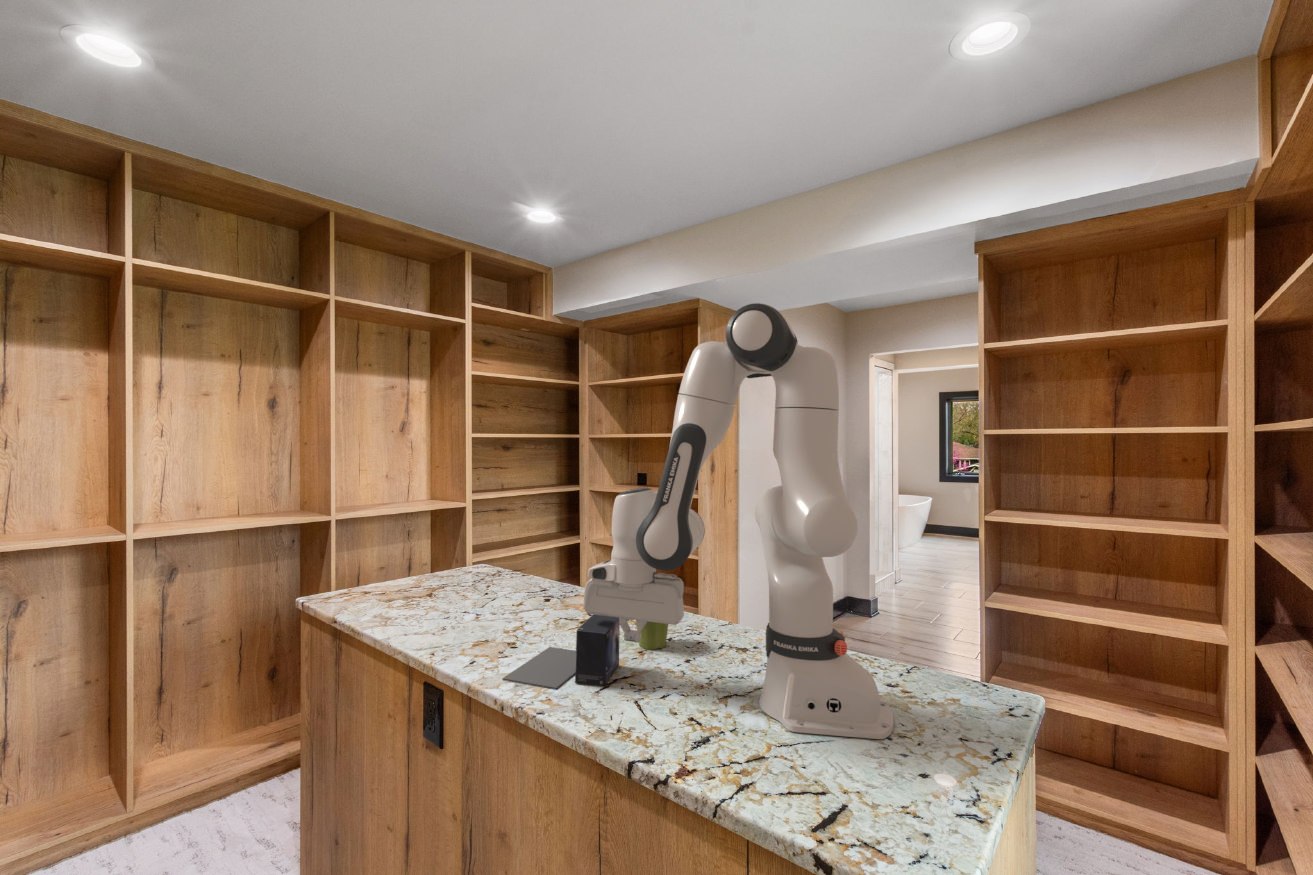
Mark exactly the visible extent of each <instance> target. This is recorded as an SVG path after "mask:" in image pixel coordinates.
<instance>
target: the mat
mask: <svg viewBox="0 0 1313 875" xmlns="http://www.w3.org/2000/svg"><path fill="white" fill-rule="evenodd" d="M575 674H576V650H572V649H566V648H561V647H560V648H559V647H553V646H549V647H547V648H545V649H544V650H543V651H541V652H540V653H538V654H537V655H535V656H534V657H532V658H530V659H529V660H528V661H526V662H525V663H523V664H521V665H520V666H519V667H517V668H516V669H514V670H513V671H511V672H509V673H508V674H507V675H505V676H503V677H502V679H501V680H503V681H507V682H511V681H512V682H511V683H517V684H518V683H519V684H524V685H528V686H529V685H530V686H534V687H541V688H546V689H553V690H558V689H559V688H561V686H563V684H565V683H566V682H567V681H569V679H572V677H573V676H574V675H575Z"/></svg>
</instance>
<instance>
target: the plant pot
mask: <svg viewBox="0 0 1313 875" xmlns="http://www.w3.org/2000/svg"><path fill="white" fill-rule="evenodd" d="M638 627H639V625H636V630H637V629H638ZM668 630H669V624H664V623H656V622H648V621H647V623H646V625H645V627H644V628H643V630H642V631H641V640H640V642H638V644H639V646H640V647H641V648H642V649H645V650H652V651H653V650H657V649H659V648H660V649H663V648H665V647H666V645H667V638H668Z"/></svg>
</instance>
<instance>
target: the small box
mask: <svg viewBox="0 0 1313 875" xmlns="http://www.w3.org/2000/svg"><path fill="white" fill-rule="evenodd" d="M620 627H621V626H620V624H619V618H617V617H609V616H602V615H594V614H591V616H590V617H589V618H588V619H587V620H586V621H585V622H584V623H583V624H581V625H580V626H579V627H578V628H577V629H576V636H575V637H576V640H575V642H576V643H575V651H576V674H574V675H575V678H574V683H575V684H581V685H589V686H598V687H605V686H606V684H608V682H609V681H610V679H611V678H612V677H613V675H614V673H616V671H617V669H618V668H619V667H620V636H621V635H620V630H621V628H620Z"/></svg>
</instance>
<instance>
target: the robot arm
mask: <svg viewBox="0 0 1313 875" xmlns="http://www.w3.org/2000/svg"><path fill="white" fill-rule="evenodd" d="M725 329H726V330H725V340H726V341H717V340H716V341H714V340H713V341H711V340H710V341H705V342H702V343H700V344H698V345H697V346H695V348H694V349H693V350H692V352H691V355H690V357H689V359H688V362H687V364H686V366H685V370H684V373H683V375H682V379H681V382H680V386H679V390H678V394H677V398H676V399H677V400H676V405H675V410H674V416H673V425H672V431H671V435H670V436H671V437H670V442H669V449H668V452H667V454H666V459H665V463H664V467H663V470H662V474H661V477H660V481H659V485H658V489H657V492H656V491H655V490H654V489H652V488H649V487H639V488H635V489H629V490H625V491H622V492H620V493H619V494H617V495H616V497H615V498H614V503H613V508H612V515H611V516H612V517H611V538H612V541H613V545H612V546H613V547H612V549H611V555H610V556H611V558H610V559H609V560H605V561H603V562H600V563H597V564H594V565H593V566H590V568H588V570H587V578H589V580H587V581H586V583H585V586H584V592H583V609H584V610H585V613H586V614H588V615H601V616H609V617H617V618H619V624H620V627H621V628H620V629H621V630H622V631H623V635H624V636H623V637H624V638H623V639H624V641H625V642H633V643H639V642H640V640H641V631H642V630H643V628H644V627H645V625H646V623H647V621H648V622H656V623H664V624H668V625H672V626H673V625H674V626H675V625H677V624H679V622H681V621H682V620H683V618H684V616H685V611H684V610H685V609H684V599H683V596H684V592H685V584H684V581H683V580H682V578H680V577H678V576H677V574H672V573H670V574H669V573H663V572H657V570H658V571H664V572H665V571H666V572H667V571H669V572H670V571H674V570H676V569H678V568H680V567H681V566H682V565H683V564H685V563H686V562H687V560H688V558H689V557H690V556H691V555H692V554H693V553H694V552H695V550H697V549H698V547H699V546H701V544H702V542H703V540H704V536H705V524H704V521H703V519H702V517H701V515H700V514H699V513H698V512H696V511H695V510H694V509H692V508H691V507H692V503H693V498H694V496H695V491H696V488H697V483H698V479H699V476H700V473H701V471H702V467H703V465H704V464H705V462H706V461H707V459H708V457H709V456H710V454H711V453H712V452H713V451H714V450H715V449H716V448H717V447H718V446H719V445H720V444H721V443H722V442H723V441H724V440H725V437H726V435H727V432H728V430H729V428H730V426H731V422H732V420H733V417H734V412H735V408H736V403H737V399H738V395H739V390H740V388H741V385H742V382H744V380H745V379H746V378H747V379H756V378H764V377H765V378H766V377H772V379H773V381H774V386H775V399H774V400H775V403H774V423H773V440H772V452H773V456H774V458H775V460H776V463H777V466H778V470H779V474H780V480H781V485H778V486H774V487H771V488H768V489H767V490H765V491H763V493H762V494H760V496H759V497H758V498H757V501H756V503H755V506H754V517H755V520H756V523H757V525H758V528H759V531H760V535H761V541H762V542H761V544H762V548H763V554H764V559H765V566H766V571H767V577H768V578H767V579H768V623H767V625H766V629H765V651H766V652H765V654H766V657H767V660H766V669H765V676H764V681H763V687H762V690H761V694H760V696H759V698H758V699H759V700H758V705H759V707H760V709H761V710H762V711H763V712H764V713H765V714H766V715H768V716H769V717H771V718H773V719H775V720H776V721H778V722H780V723H781V724H782V725H783V726H784V727H785V728H786V729H787V730H788V731H790V732H791V733H792V732H793V733H798V734H799V733H802V734H815V735H822V736H823V735H825V736H836V737H837V736H839V737H846V738H847V737H849V738H861V739H862V738H863V739H873V740H875V739H876V740H884V739H886V738H888V737H889V736H890V735H891V734H892V732H893V730H894V727H895V720H894V714H893V711H892V708H891V706H890V705H889V704H888V702H886V701H885V700H884V699H882V698H881V697H880V695H879V689H878V686H877V684H876V681H875V679H874V677H873V676H872V674H871V672H869V671H868V670H867V669H866V668H864V667H863V666H862V665H861V664H859V663H858V662H857V661H856V660H855V659H854V658H852V657H851V656H850V655H849V654H848V653H847V652H848V645H847V642H846V637H845V636H844V633H843V631H842V630H840V632H839V631H838V630H836V629H835V628H834V586H833V584H832V583H833V582H832V580H831V578H830V576H829V574H828V572H827V569H826V566H825V562H824V559H823V558H832V557H833V558H834V557H837V556H841V555H843V554H844V553H846V552H847V551H848V550H849V549H850V548H851V547H852V545H853V544H854V542H855V540H856V538H857V534H858V520H857V516H856V514H855V512H854V510H853V508H852V507H851V505H850V504H849V503H848V502H849V501H848V500H847V496H846V495H845V494H846V493H845V489H844V485H843V480H842V476H841V470H840V465H839V455H838V453H839V452H838V448H839V447H838V443H839V442H838V440H839V415H840V414H839V412H840V410H839V409H840V391H839V390H840V388H839V377H838V372H837V371H838V370H837V364H836V360H835V359H834V357H833V355H831V353H829V352H828V351H826V350H825V349H821V348H819V347H815V346H814V347H813V346H812V347H809V346H802V345H801V344H799V343H798V338H797V336H796V334H795V332H794V330H793V328H792V325H791V323H789V321H788V320H787V319H786V318H785V317H784V316H783V315H782V314H781V312H780V311H778V310H777V309H776V308H774V307H773V306H771V305H768V304H765V303H760V302H759V303H749V304H746V305H744V306H742V307H740V308H739V309H737V310H736V311H735V312H734V313H733V314H732V315H731V316H730V318H729V320H728V322H727V325H726V328H725ZM630 620H635V623H636V626H637V625H639V627H638V629H637V628H636V630H633V629H631V626H630V624H629V623H628V622H629V621H630Z"/></svg>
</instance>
